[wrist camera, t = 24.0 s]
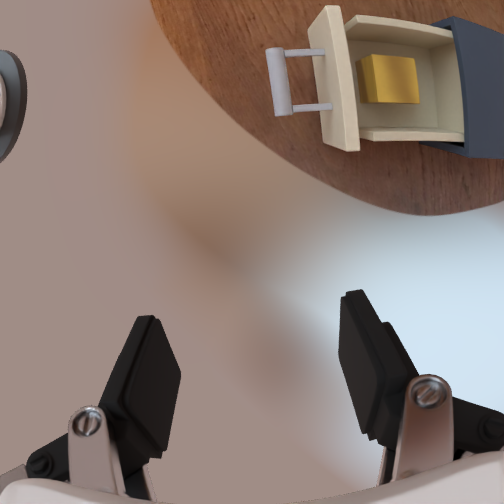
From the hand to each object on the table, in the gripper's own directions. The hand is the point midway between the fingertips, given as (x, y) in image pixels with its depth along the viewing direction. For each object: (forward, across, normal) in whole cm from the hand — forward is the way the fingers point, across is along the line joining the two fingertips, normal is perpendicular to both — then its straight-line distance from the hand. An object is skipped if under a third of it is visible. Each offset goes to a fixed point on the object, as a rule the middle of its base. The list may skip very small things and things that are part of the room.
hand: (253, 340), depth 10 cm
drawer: (+23, -13, -10) cm, 28 cm away
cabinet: (+24, -28, -10) cm, 38 cm away
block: (+22, -14, -10) cm, 28 cm away
